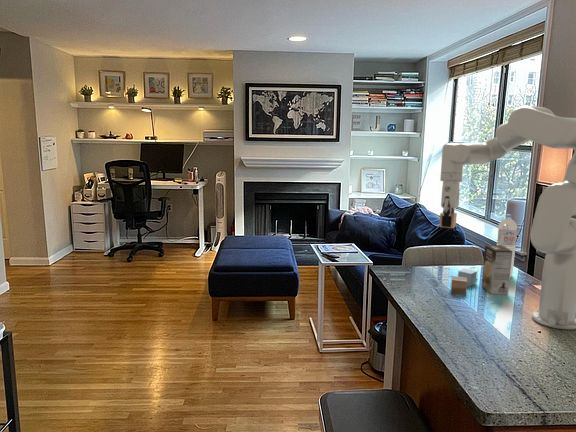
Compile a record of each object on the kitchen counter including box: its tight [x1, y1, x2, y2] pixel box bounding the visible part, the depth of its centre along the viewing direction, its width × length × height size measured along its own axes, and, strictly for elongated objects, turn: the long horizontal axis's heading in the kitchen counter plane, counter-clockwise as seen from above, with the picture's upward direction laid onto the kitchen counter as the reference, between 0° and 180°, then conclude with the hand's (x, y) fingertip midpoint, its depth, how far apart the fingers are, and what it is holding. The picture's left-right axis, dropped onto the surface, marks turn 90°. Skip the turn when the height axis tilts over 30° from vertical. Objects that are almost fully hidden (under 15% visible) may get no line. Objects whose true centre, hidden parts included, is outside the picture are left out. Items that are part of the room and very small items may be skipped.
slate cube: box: [457, 268, 478, 287], centre depth 170 cm, size 5×5×5 cm
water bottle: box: [496, 213, 518, 277], centre depth 180 cm, size 7×7×25 cm
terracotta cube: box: [439, 211, 457, 229], centre depth 167 cm, size 5×5×5 cm
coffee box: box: [481, 244, 513, 295], centre depth 161 cm, size 9×6×16 cm
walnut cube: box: [450, 275, 468, 296], centre depth 160 cm, size 5×5×5 cm
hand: (447, 225), depth 168 cm, fingers closed on terracotta cube, 5 cm apart
